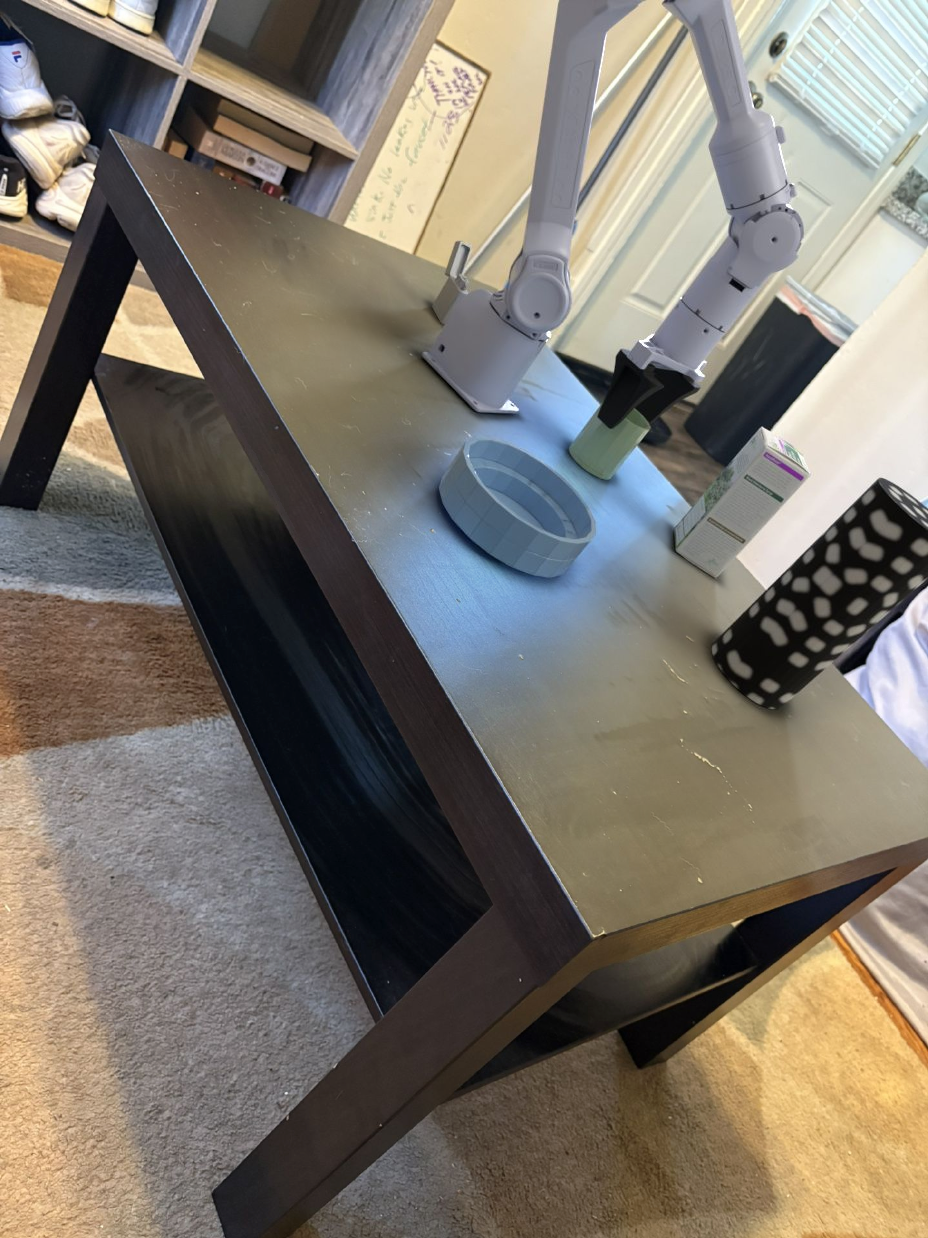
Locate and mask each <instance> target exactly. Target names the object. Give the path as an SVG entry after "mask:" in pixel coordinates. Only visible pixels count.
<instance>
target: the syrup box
mask: <svg viewBox="0 0 928 1238" xmlns="http://www.w3.org/2000/svg"><path fill="white" fill-rule="evenodd" d="M811 475H812V473H811V472H810V469H809V467H808V464H807V462H806V460H805V458H804V455H803V453H801V452H800V451H799V449H797V448H795V446H793V445H792V444H791V443H789V442H788V441H787V440H785V439H784V438H782V437H781V436H779V435H777V434H775V433H774V432H772V431H770V430H768V429H767V428H765V427H764V426H761V427H759V428H758V430H757V431H756V432H755V433H754V434H753V435H752V436H751V438H750V439H749V440H748V441H747V442H746V444H745V445H744V446H743V447H742V448H741V449H740V450H739V451H738V453H737V454H736V455H735V456H734V458H733V459H732V460H731V461H730V462H729V463H728V465H726V467H725V468H724V469H723V470H722V472H721V473H720V474H719V475H718V476H717V478H715V480H714V481H713V482H712V483H711V484H710V486H708V488H707V489H706V490H705V491H704V493H702V495H701V496H700V497H699V498H698V500H696V501H695V502H694V504H693V505H692V507H691V508H690V509H689V510H688V511H687V513H685V515H684V516H683V517H682V519H680V521H678V523H677V525H675V526H674V528H673V534H674V535H673V536H674V549H675V552H676V553H678V554H679V555H680V556H682V557H683V558H684V559H685V560H686V561H688V562H689V563H691V564H692V565H694V566H696V567H697V568H698V569H700V570H702V571H704V572H705V573H706V574H708V575H710V576H711V577H713V578H714V579H717V578H718V577H719V576H720V575H721V574H722V572H723V571H724V570H725V569H726V568H727V567H728V566H729V565H730V564H731V563H732V562H733V561H734V560H735V559H736V558H737V557H738V556H739V554H740V553H741V552H742V551H743V550H744V549H745V548H746V547H747V546H748V544H750V543H751V541H752V540H754V538H755V537H756V536H757V535H758V534H759V533H760V531H761V530H763V528H765V526H766V525H767V524H768V523H769V522H770V521H771V519H772V518H773V517H774V516H775V515H776V514H777V513H778V512H779V511H780V510H781V509H782V507H783V506H784V505H785V504H786V503H787V502H788V501H789V500H790V499H791V498H792V497H793V496H794V494H796V493H797V491H798V490H799V489H800V488H801V487H802V486H803V484H805V483H806V481H807V480H808V479H809V478H810V477H811Z"/></svg>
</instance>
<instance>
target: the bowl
mask: <svg viewBox="0 0 928 1238" xmlns="http://www.w3.org/2000/svg"><path fill="white" fill-rule="evenodd" d="M438 490H439V494H440V498H441V502H442V504H443V506H444V508H445V510H446V511H447V513H448V514H449V515H448V516H450V518H451V520H453V522H454V523H455V524H456V525H457V526H458V527H459V529H461V531H462V532H463V533H464V534H465V535H466V536H467V537H468V538H469V539H470V540H471V541H472V542H474V543H475V544H476V545H477V546H479V547H480V548H481V549H482V550H484V551H485V552H486V553H487V554H489V555H490V556H492V557H493V558H495V559H496V560H498V561H500V562H501V563H503V564H505V565H507V566H509V567H510V568H513V569H515V570H518V571H519V572H523V573H525V574H528V575H531V576H535V577H540V578H541V577H543V578H550V579H551V578H555V577H559V576H563V575H564V574H565V573H566V572H567V570H568V569H569V568H570V567H571V566H572V565H573V563H574V562H575V561H576V560H577V558H578V557H579V556H580V554H581V553H582V552H583V551H584V550H585V548H586V547H587V546H588V545H589V544H590V543H591V541H592V540H593V539H594V537H595V536H596V535H597V522H596V519H595V518H594V515H593V513H592V511H591V509H590V506H589V505H588V504H587V503H586V501H585V500H584V499H583V497H582V496H581V494H579V492H578V491H577V490H576V489H575V488H574V487H573V486H572V485H571V484H570V482H568V481H567V480H566V479H565V478H564V477H563V476H562V475H561V474H560V473H558V472H557V471H556V470H555V469H554V468H552V467H551V466H549V465H548V463H546V462H544V461H543V460H542V459H540V458H538V457H536V456H535V455H534V454H532V453H530V452H528V451H527V450H525V449H523V448H522V447H519V446H518V445H515V444H512V443H511V442H508V441H506V440H502V439H499V438H496V437H492V436H473V437H472V438H469V439H468V440H466V441H464V443H463V445H462V447H461V448H460V450H459V451H458V453H457V454H456V455H455V457H454V459H453V460H452V461H451V463H450V465H449V466H448V467H447V469H446V471H445V472H444V474H443V475H442V477H441V479H440V483H439V486H438Z"/></svg>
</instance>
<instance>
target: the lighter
mask: <svg viewBox="0 0 928 1238" xmlns="http://www.w3.org/2000/svg"><path fill="white" fill-rule="evenodd" d="M472 251H473V246H472V245H471V244H470V243H467V242H465V241H464V240H456V241H455V242H454V245H453V247H452V250H451V254H450V256H449V259H448V263H447V265H446V268H445V272H444V275H445V276H446V277H448V278H447V280H446V281H445V283H444V285H443V287H442V288H441V290H440V292H439V293H438V295H437V297H436V299H435V301H434V302H433V303H432V306H431V308H432V309H433V311H434V313H435V315H436V317H437V319H438V320H439V323H441V324H442V325H445V323H446V321H447V320H448V318H449V316H450V315H451V313H452V311H453V310H454V308H455V307H456V305H457V304H458V303H459V302H460V301H461V299H462V298H464V297H465V296H466V295H467V294H468V293H469V291H468V288H469V287H470V284H471V283H470V281H469V280H468V278H467V277H466V276H465V275H464V274H465V271H466V267H467V265H468V262H469V259H470V256H471V253H472Z"/></svg>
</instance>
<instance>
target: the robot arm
mask: <svg viewBox="0 0 928 1238" xmlns="http://www.w3.org/2000/svg"><path fill="white" fill-rule="evenodd" d="M645 1H646V0H558V2H557V8H556V9H557V10H556V13H555V22H554V28H553V29H554V30H553V35H552V41H551V42H552V43H551V49H550V56H549V63H548V71H547V77H546V84H545V91H544V98H543V106H542V113H541V118H540V126H539V133H538V139H537V146H536V155H535V161H534V167H533V175H532V181H531V189H530V195H529V203H528V210H527V216H526V221H525V222H526V223H525V227H524V234H523V240H522V241H523V242H522V245H521V248H520V250H519V252H518V254H517V256H516V257H515V259H514V260H513V262H512V264H511V266H510V270H509V274H508V284H509V285H508V288H507V287H504V288H503V289H501V290H498V291H494V292H493V293H492V292H491V291H489V290H488V289H485V288H478V289H477V288H476V289H474V290H472V291H470V292H468V294H467V295H466V296H465V297H464V298H462V299H461V301H460V302H459V303H458V304H457V305H456V307H455V308H454V310H453V311H452V313H451V315H450V316H449V318H448V320H447V321H446V323H445V324H443V326H442V328H441V329H440V332H439V333H438V335H437V337H436V338H435V340H434V342H433V343H432V345H431V347H430V349H429V350H428V351H423V352H422V354H421V357H422V358H423V359H424V360H425V361H426V362H427V363H428V364H429V366H430V367H432V368H433V370H435V371H436V372H437V373H438V374H439V376H441V377H442V379H444V380H445V381H446V382H447V383H448V384H449V385H450V386H451V388H453V390H454V391H455V392H456V393H457V394H458V395H459V396H460V397H461V399H463V400H464V401H465V402H466V403H467V404H468V405H469V407H471V408H472V409H473V410H474V411H475V412H478V413H490V414H491V413H492V414H493V413H494V414H515V415H516V414H518V413H519V411H520V409H519V408H518V407H517V406H516V405H515V404H514V403H513V402H512V401H511V400H510V397H511V396H512V394H513V393H514V392H515V390H516V388H517V387H518V385H519V384H520V383H521V381H522V380H523V378H524V377H525V375H526V374H527V372H528V371H529V369H530V368H531V366H532V365H533V363H534V362H535V360H536V359H537V358H538V356H539V355H540V353H541V351H542V350H543V349H544V347H545V345H546V344H547V342H548V341H549V340H550V338H552V332H551V331H554V330H555V329H557V328H559V327H560V326H561V325H562V324H563V323H564V322H565V320H566V319H567V318H568V316H569V314H570V312H571V309H572V305H573V293H572V289H571V285H570V279H571V274H570V268H569V264H570V257H571V250H572V249H571V248H572V239H573V232H574V225H575V219H576V214H577V208H578V202H579V195H580V192H581V191H580V190H581V184H582V180H583V174H584V167H585V162H586V156H587V150H588V145H589V144H588V143H589V139H590V132H591V128H592V127H591V126H592V122H593V116H594V115H593V114H594V110H595V104H596V98H597V92H598V87H599V80H600V74H601V69H602V65H603V59H604V51H605V46H606V42H607V41H606V40H607V35H608V33H609V31H610V30H612V28H614V27H615V26H616V25H617V24H618V23H620V22H621V21H622V20H623V19H624V18H626V17H627V16H628V15H629V14H630V13H632V12H633V11H634V10H636V9H637V8H638V7H639V5H640V4H642V3H643V2H645ZM661 5H662V6H663V8H665V9H666V11H668V12H669V13H670V14H671V15H672V16H674V17H675V18H676V19H677V21H679V22H680V23H681V24H682V25H683V26H684V27H685V28H686V29H687V30H688V33H689V35H690V36H689V37H690V39H691V42H692V45H693V48H694V52H695V55H696V57H697V60H698V64H699V67H700V71H701V74H702V77H703V80H704V83H705V86H706V90H707V93H708V96H709V100H710V103H711V106H712V109H713V112H714V115H715V118H716V127H715V129H714V131H713V134H712V136H711V137H710V140H709V142H708V146H707V147H708V151H709V154H710V159H711V162H712V165H713V167H714V171H715V175H716V178H717V182H718V186H719V189H720V192H721V196H722V199H723V203H724V206H725V210H726V213H727V215H729V216H730V219H729V222H728V226H727V227H728V228H727V234H728V235H727V236H726V238H725V239H724V241H723V242H722V243H721V244H720V246H719V247H718V249H716V251H715V252H714V254H713V255H712V256H711V257H710V258H709V259H708V261H707V262H706V263H705V265H704V266H703V267H702V269H701V270H700V271H699V273H698V274H697V275H696V277H695V278H694V280H693V281H692V282H691V284H689V286H688V287H687V289H686V290H685V292H684V293H683V294H682V296H681V297H680V298H679V300H678V301H677V302H676V304H675V305H674V307H673V308H672V309H671V310H670V312H669V313H668V315H667V316H666V317H665V319H664V320H663V321H662V323H661V324H660V326H658V328H657V330H656V331H655V332H654V333H652V334H650V335H648V337H646V338H645V339H644V340H641V339H640V340H637V341H636V343H635V345H633V347H632V348H631V350H630V349H627V348H620V349H619V351H618V352H617V353H616V355H615V358H614V359H615V360H614V366H613V367H614V368H613V372H612V378H611V380H610V385H609V386H608V390H607V391H606V395H605V396H604V398H603V401H602V402H603V403H602V402H601V404H602V406H601V408H600V410H599V413H598V416H597V417H598V418H599V419H600V420H601V421H602V422H603V423H604V424H605V425H606V426H607V427H608V428H609V429H613V428H615V427H616V426H617V425H618V424H620V423H621V422H622V421H623V420H624V419H625V418H626V417H627V416H628V414H629V413H630V412H631V411H632V410H633V409H634V408H635V409H636V410H637V411H638V412H639V413H640V414H642V415H643V416H644V418H645V419H646V420H647V421H648V423H649V425H650V426H651V425H652V424H653V423H654V422H655V421H656V420H657V419H658V418H660V417H661V416H662V415H663V414H665V413H666V412H667V411H668V410H669V409H671V408H672V407H673V406H675V405H676V404H678V403H680V402H681V401H683V400H685V399H686V398H689V397H690V396H693V395H695V394H697V393H698V392H699V391H700V390H701V385H700V384H699V383H701V382H702V381H703V380H704V379H705V378H706V376H705V374H703V372H702V371H703V370H704V368H705V367H706V366H707V364H708V361H706V359H707V357H708V356H709V355H710V354H711V352H712V351H713V350H714V348H715V347H716V346H717V345H718V343H719V342H720V341H721V339H722V338H723V337H724V336H725V335H726V333H727V332H728V331H729V330H730V329H731V327H732V326H733V325H734V323H735V322H736V321H737V319H738V318H739V317H740V316H741V314H742V313H743V312H744V311H745V309H746V308H747V307H748V306H749V304H750V303H751V302H752V301H753V299H754V298H755V297H756V295H757V294H758V292H759V291H760V290H761V288H762V287H763V285H764V284H765V283H766V282H767V281H768V279H769V278H770V277H771V276H772V274H775V273H777V272H780V271H784V270H785V269H786V268H788V267H790V266H791V265H792V264H794V262H795V261H796V260H797V259H798V258H799V255H798V253H799V250H800V248H801V246H802V244H803V243H802V240H803V239H804V237H805V236H804V235H805V227H804V222H803V220H802V217H801V215H800V214H799V212H798V211H796V210H795V209H794V208H793V207H792V206H791V205H790V202H791V201H792V199H793V198H795V197H797V195H798V191H797V188H796V187H797V186H796V185H795V184H794V183H792V182H791V183H790V182H789V178H788V174H787V170H786V166H785V161H784V158H783V153H782V150H781V145H783V144H784V143H786V142H787V138H786V133H785V128H784V127H783V126H780V125H775V121H774V117H773V115H771V114H769V113H768V112H765V111H762V110H761V109H758V108H755V106H754V101H753V97H752V93H751V87H750V83H749V77H748V73H747V69H746V63H745V59H744V55H743V50H742V46H741V41H740V40H741V39H740V36H739V32H738V26H737V22H736V18H735V13H734V9H733V8H734V7H733V3H732V0H663V1H662V2H661ZM698 382H699V383H698Z"/></svg>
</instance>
